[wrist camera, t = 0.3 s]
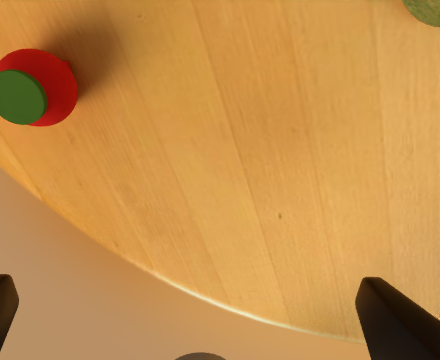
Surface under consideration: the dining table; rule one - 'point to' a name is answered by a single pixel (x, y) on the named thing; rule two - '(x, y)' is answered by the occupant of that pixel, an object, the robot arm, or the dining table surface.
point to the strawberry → (36, 88)
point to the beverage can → (425, 10)
